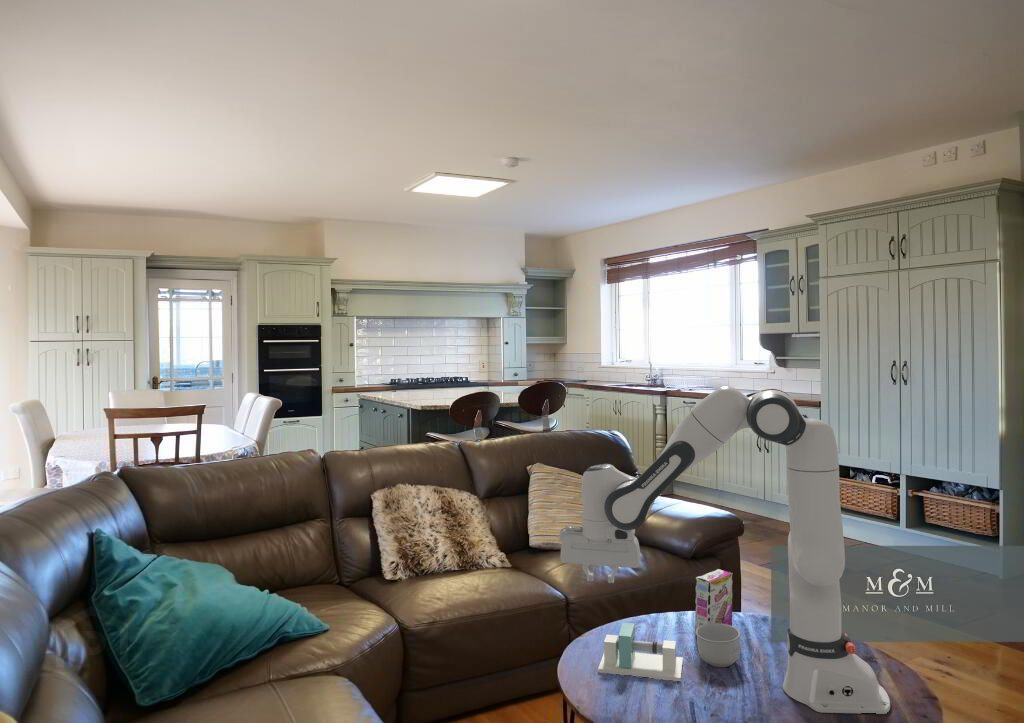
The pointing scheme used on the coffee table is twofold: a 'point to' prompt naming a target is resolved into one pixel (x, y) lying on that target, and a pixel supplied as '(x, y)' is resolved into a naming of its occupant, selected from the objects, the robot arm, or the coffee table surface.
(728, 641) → the teacup
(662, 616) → the coffee table surface
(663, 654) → the pipe stand
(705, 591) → the candy bar box
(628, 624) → the collar
